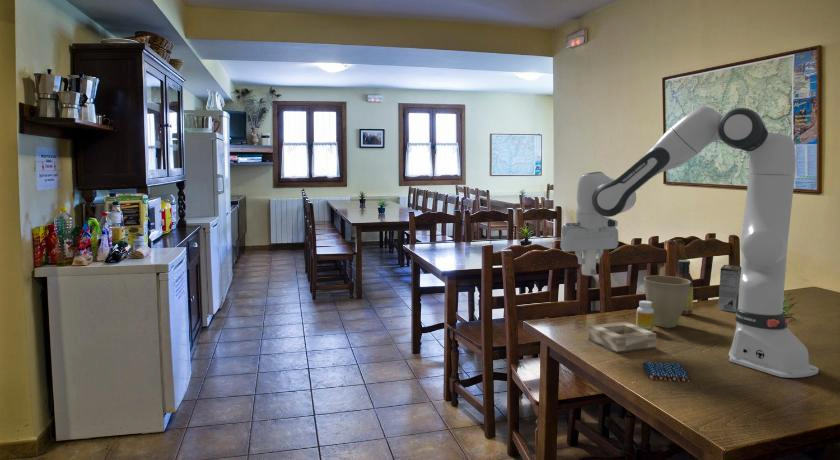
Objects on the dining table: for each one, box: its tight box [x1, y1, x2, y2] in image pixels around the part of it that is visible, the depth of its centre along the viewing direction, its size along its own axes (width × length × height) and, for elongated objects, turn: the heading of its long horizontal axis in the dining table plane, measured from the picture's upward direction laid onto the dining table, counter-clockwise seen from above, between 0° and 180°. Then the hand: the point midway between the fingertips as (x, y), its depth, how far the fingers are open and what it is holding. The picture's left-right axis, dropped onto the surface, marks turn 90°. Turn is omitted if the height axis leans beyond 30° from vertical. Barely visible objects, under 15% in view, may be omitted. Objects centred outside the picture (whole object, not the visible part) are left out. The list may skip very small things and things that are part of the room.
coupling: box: [580, 248, 597, 277], centre depth 195 cm, size 7×4×9 cm, turn 19°
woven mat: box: [642, 361, 692, 382], centre depth 159 cm, size 10×11×2 cm
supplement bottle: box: [635, 300, 654, 332], centre depth 198 cm, size 5×5×10 cm
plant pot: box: [643, 275, 691, 328], centre depth 204 cm, size 15×15×16 cm
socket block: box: [588, 321, 657, 354], centre depth 183 cm, size 14×14×5 cm
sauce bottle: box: [675, 259, 694, 316], centre depth 219 cm, size 6×6×20 cm
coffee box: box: [717, 264, 741, 313], centre depth 226 cm, size 9×6×16 cm
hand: (588, 263), depth 195 cm, fingers closed on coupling, 4 cm apart
